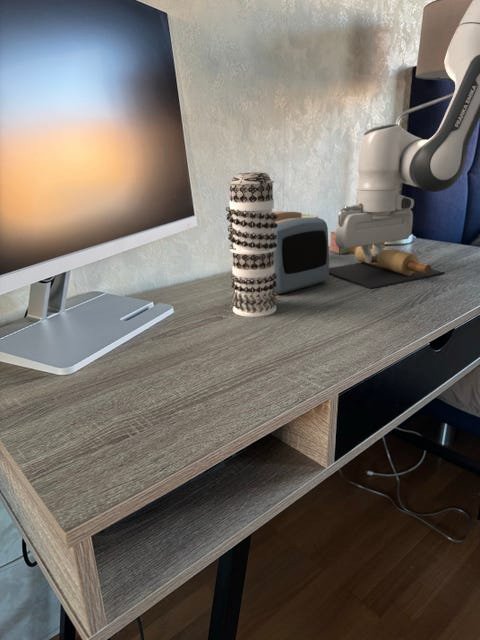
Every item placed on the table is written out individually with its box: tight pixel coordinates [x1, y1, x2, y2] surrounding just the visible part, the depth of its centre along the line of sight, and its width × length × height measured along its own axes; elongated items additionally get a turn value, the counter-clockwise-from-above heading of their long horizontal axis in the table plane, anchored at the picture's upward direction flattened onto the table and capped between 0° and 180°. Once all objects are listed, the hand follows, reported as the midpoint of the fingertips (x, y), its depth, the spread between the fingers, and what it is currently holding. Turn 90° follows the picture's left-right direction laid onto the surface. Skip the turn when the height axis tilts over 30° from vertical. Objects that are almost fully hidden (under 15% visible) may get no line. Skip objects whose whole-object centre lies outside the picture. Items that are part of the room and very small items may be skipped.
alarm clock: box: [272, 211, 330, 295], centre depth 99 cm, size 16×16×16 cm
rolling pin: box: [347, 244, 432, 276], centre depth 107 cm, size 5×26×5 cm, turn 26°
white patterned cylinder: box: [225, 171, 278, 318], centre depth 81 cm, size 9×9×25 cm
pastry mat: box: [329, 262, 445, 290], centre depth 107 cm, size 22×18×1 cm
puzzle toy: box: [329, 230, 349, 255], centre depth 128 cm, size 6×6×6 cm
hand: (372, 262), depth 106 cm, fingers closed
